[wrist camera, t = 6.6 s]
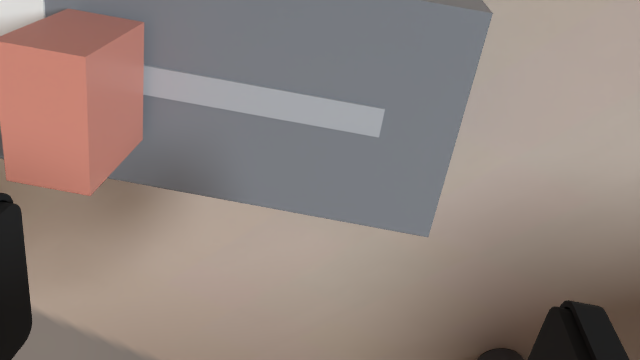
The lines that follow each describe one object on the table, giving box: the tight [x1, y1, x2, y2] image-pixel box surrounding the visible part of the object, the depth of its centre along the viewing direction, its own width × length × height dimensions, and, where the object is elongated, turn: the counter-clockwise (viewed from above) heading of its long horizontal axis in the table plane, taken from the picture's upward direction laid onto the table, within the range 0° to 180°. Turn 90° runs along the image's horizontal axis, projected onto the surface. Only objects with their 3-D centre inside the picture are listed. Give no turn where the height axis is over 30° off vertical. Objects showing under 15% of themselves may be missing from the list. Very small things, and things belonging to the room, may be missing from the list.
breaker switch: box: [0, 9, 144, 196], centre depth 17 cm, size 2×4×4 cm, turn 171°
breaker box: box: [0, 0, 493, 237], centre depth 21 cm, size 16×8×4 cm, turn 81°
